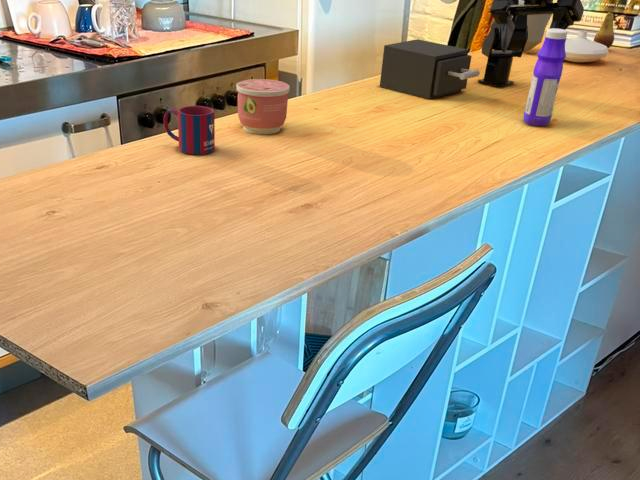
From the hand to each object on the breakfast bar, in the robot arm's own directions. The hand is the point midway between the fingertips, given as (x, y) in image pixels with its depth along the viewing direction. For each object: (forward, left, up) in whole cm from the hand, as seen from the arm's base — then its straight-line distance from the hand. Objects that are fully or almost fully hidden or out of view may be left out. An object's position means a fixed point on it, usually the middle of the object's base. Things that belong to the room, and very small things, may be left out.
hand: (523, 51), depth 173 cm
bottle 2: (-60, -34, -12) cm, 70 cm away
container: (+54, -24, -12) cm, 61 cm away
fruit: (-83, -22, -12) cm, 86 cm away
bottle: (+4, +9, -12) cm, 16 cm away
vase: (-63, -19, -12) cm, 66 cm away
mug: (+74, -23, -12) cm, 79 cm away
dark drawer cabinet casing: (0, -25, -12) cm, 28 cm away
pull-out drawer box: (0, -20, -11) cm, 23 cm away
